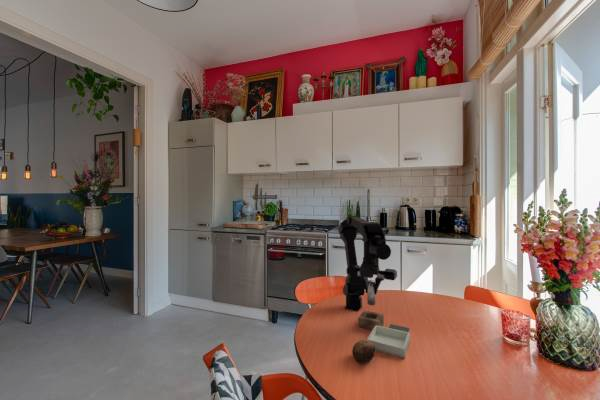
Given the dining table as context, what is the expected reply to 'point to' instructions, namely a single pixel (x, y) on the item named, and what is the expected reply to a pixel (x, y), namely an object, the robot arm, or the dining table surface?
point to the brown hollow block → (370, 320)
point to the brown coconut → (363, 351)
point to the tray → (390, 341)
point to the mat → (399, 328)
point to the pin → (371, 292)
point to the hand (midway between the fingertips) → (371, 293)
